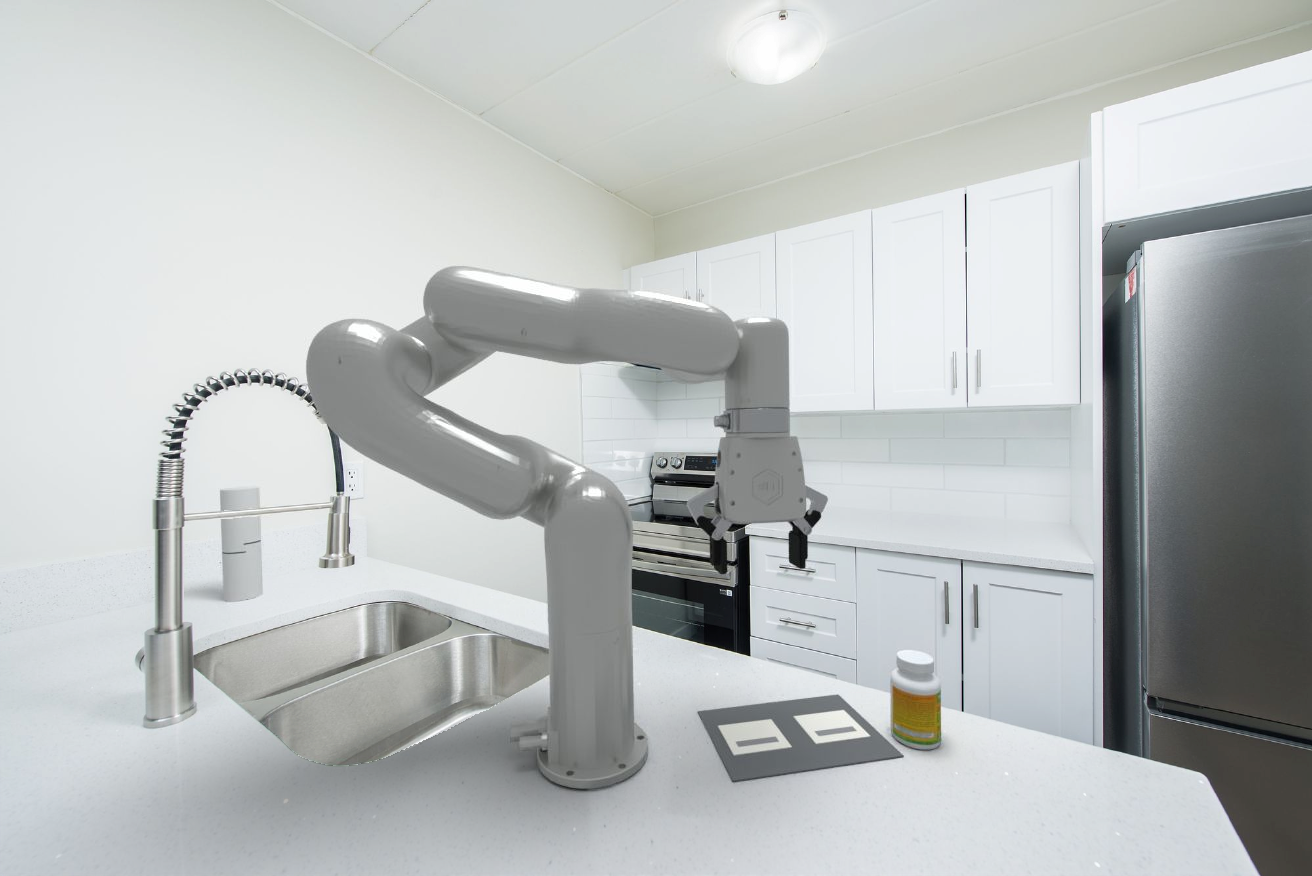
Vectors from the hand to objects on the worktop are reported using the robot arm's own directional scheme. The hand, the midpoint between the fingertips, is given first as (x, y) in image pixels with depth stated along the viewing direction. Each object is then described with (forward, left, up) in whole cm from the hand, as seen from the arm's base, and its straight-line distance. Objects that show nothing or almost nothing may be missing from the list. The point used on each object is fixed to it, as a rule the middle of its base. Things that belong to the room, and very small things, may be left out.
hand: (759, 568), depth 63 cm
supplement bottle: (+18, -4, -20) cm, 27 cm away
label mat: (+4, 0, -20) cm, 21 cm away
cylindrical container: (-95, +78, -20) cm, 125 cm away
